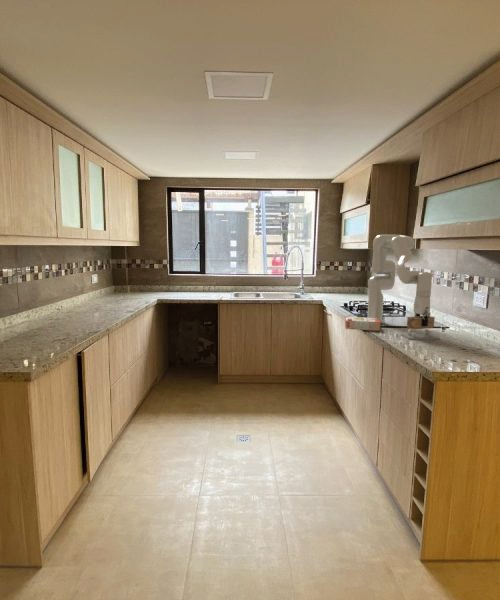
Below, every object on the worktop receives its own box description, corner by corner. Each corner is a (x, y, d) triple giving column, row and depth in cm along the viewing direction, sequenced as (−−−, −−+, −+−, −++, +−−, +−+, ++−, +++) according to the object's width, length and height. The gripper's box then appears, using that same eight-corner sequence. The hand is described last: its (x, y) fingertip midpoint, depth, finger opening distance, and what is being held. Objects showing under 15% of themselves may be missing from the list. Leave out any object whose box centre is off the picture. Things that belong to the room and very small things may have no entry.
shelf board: (406, 327, 213) (407, 316, 212) (425, 325, 218) (426, 315, 217) (415, 329, 207) (415, 318, 207) (433, 327, 213) (434, 317, 212)
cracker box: (381, 321, 227) (345, 320, 231) (380, 331, 228) (345, 329, 232) (378, 317, 240) (344, 316, 245) (377, 326, 241) (344, 325, 246)
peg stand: (400, 335, 218) (401, 328, 218) (430, 335, 219) (430, 328, 219) (408, 339, 208) (409, 332, 208) (439, 339, 209) (440, 332, 209)
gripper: (409, 292, 218) (407, 321, 221) (424, 296, 201) (422, 328, 204) (421, 292, 219) (419, 321, 221) (438, 296, 202) (435, 328, 204)
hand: (420, 324), depth 213 cm, fingers closed on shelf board, 7 cm apart
